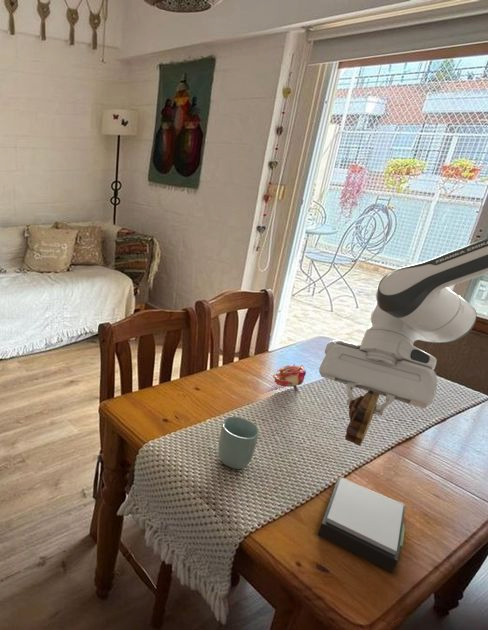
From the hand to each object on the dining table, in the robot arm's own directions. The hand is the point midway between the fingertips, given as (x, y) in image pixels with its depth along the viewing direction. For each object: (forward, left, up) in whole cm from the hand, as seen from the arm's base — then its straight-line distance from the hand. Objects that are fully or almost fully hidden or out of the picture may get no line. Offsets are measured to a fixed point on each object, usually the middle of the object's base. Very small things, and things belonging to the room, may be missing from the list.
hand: (363, 409), depth 91 cm
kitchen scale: (-6, +11, -19) cm, 23 cm away
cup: (+20, +10, -19) cm, 30 cm away
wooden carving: (-1, +3, -5) cm, 6 cm away
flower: (+20, -34, -19) cm, 44 cm away
